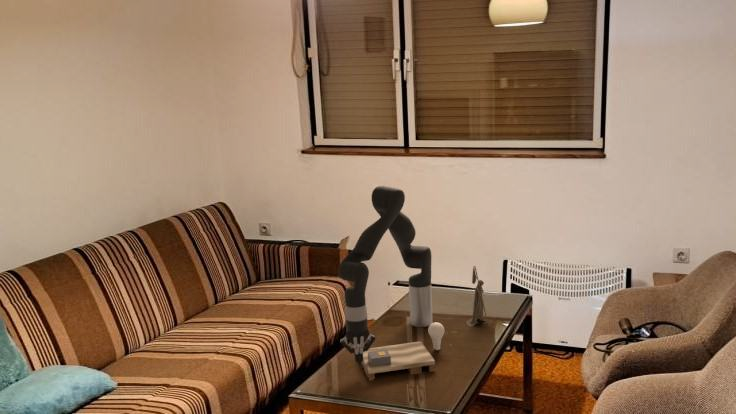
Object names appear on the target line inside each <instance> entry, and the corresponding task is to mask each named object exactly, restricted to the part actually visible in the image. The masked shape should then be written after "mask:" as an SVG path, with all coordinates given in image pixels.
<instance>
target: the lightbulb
mask: <svg viewBox="0 0 736 414" xmlns="http://www.w3.org/2000/svg"><path fill="white" fill-rule="evenodd" d="M427 331H428V335H429V337H430V338H431V342H432V344H433V346H432V347H433V349H434V350H435V351H439V350H441V343H442V339H443V337H444V334H445V327H444V325H443V324H442V323H440V322H435V321H434V322H433V323H432V324H431V325H430V326H428V330H427Z"/></svg>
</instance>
